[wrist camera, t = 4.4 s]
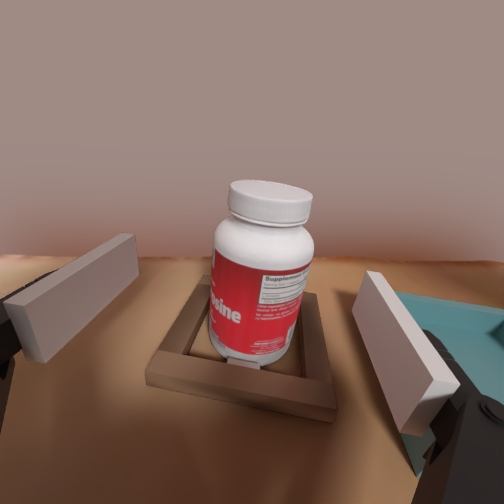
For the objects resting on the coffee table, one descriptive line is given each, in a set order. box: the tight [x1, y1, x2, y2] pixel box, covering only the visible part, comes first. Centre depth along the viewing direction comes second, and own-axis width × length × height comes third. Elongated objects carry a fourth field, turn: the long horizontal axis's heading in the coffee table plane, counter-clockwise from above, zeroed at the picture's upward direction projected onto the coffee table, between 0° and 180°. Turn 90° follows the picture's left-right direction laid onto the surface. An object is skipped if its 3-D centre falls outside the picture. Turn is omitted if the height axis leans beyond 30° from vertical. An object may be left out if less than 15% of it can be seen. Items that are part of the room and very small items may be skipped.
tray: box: [394, 291, 504, 478], centre depth 16 cm, size 12×12×3 cm
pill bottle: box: [209, 180, 314, 366], centre depth 16 cm, size 6×6×11 cm
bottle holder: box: [145, 275, 338, 423], centre depth 18 cm, size 11×11×1 cm
